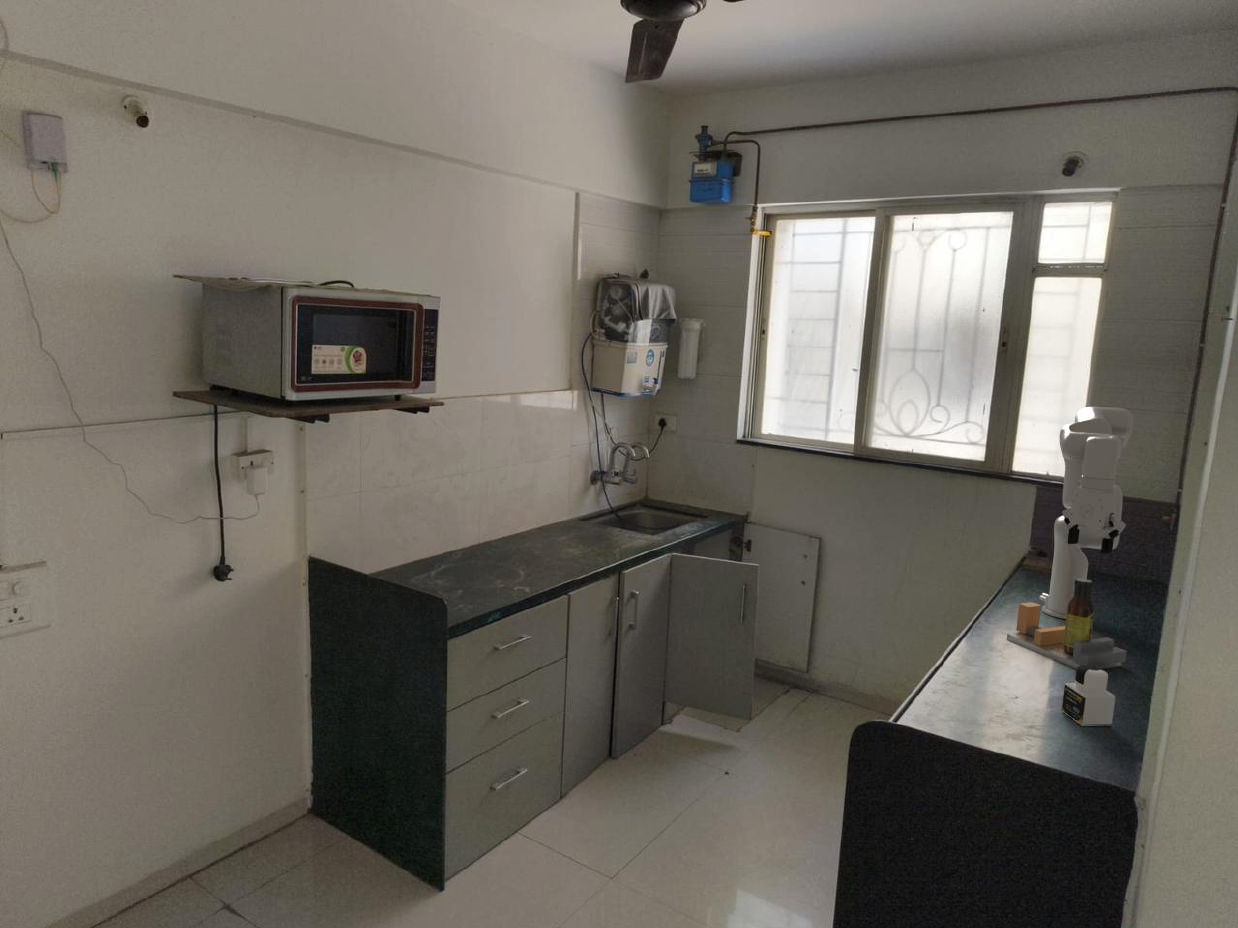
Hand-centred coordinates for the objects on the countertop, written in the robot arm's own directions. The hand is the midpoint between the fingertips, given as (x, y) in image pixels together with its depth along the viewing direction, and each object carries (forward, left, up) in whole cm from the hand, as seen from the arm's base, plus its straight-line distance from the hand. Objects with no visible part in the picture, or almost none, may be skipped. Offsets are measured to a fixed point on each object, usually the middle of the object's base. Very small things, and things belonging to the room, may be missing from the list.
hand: (1089, 548), depth 208 cm
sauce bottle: (0, 0, -29) cm, 29 cm away
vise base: (-4, 0, -30) cm, 30 cm away
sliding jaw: (-12, 0, -29) cm, 31 cm away
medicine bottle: (+28, -31, -31) cm, 52 cm away
